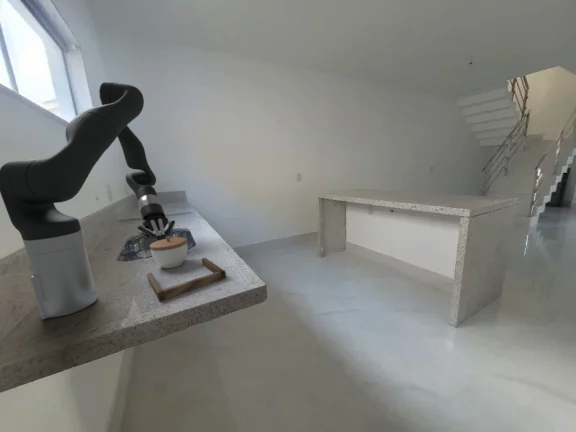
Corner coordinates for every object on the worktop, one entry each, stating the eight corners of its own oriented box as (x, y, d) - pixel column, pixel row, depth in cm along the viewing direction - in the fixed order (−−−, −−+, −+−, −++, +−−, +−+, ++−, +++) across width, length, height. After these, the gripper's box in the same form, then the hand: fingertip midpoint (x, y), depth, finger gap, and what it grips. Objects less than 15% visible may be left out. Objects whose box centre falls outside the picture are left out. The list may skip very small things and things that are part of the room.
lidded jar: (195, 258, 82) (192, 232, 80) (178, 271, 71) (173, 241, 70) (166, 259, 83) (162, 233, 81) (146, 271, 73) (140, 242, 71)
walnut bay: (159, 301, 54) (157, 293, 54) (148, 280, 66) (146, 273, 66) (226, 277, 64) (225, 271, 64) (205, 263, 76) (205, 257, 76)
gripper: (130, 205, 85) (141, 244, 77) (170, 200, 93) (184, 235, 85) (131, 218, 90) (142, 256, 82) (169, 212, 98) (182, 246, 91)
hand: (163, 245), depth 84 cm, fingers closed
